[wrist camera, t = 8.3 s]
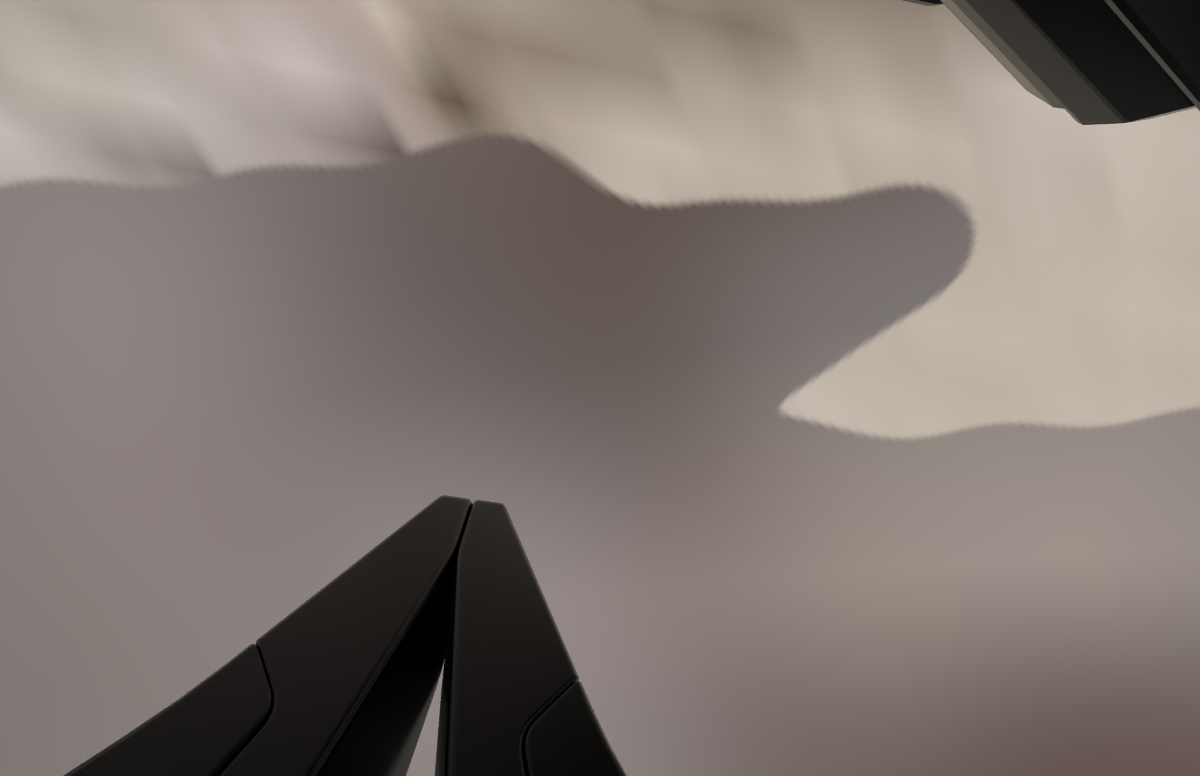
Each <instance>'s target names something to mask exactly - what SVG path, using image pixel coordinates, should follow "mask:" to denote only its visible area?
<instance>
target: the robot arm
mask: <svg viewBox="0 0 1200 776" xmlns="http://www.w3.org/2000/svg"><path fill="white" fill-rule="evenodd" d="M904 1H908V2H913V3H918V4H922V5H927V6H932V5H940V4H944V5H945V6H946V7H947V8H948V9H949V10H950V11H951V12H952V13H953V14H954V15H955V16H956V17H957V18H958V19H959V20H960V21H961V22H962V24H963V25H964V26H965V27H966V28H967V29H968V30H969V31H970V32H971V33H972V34H973V35H974V36H975V37H976V38H977V39H978V40H979V41H980V42H981V43H982V44H983V45H984V46H985V48H986V49H987V50H988V51H989V52H990V53H991V54H992V55H993V56H994V57H995V58H996V59H997V60H998V61H999V62H1000V63H1001V64H1002V65H1003V66H1004V67H1005V68H1006V69H1007V70H1008V72H1009V73H1010V74H1011V75H1012V76H1013V77H1014V78H1015V79H1016V80H1017V81H1018V82H1019V83H1020V84H1021V85H1022V86H1023V87H1024V88H1025V89H1026V90H1027V91H1028V92H1030V93H1032V94H1033V95H1035V96H1036V97H1038V98H1040V99H1041V100H1043V101H1044V102H1046V103H1048V104H1049V105H1051V106H1052V107H1055V108H1063V109H1065V110H1066V111H1067V112H1068V113H1069V114H1070V115H1071V116H1072V117H1073V118H1074V119H1075V120H1076V121H1077V122H1078V123H1080V124H1082V125H1093V124H1117V123H1128V122H1134V121H1140V120H1146V119H1151V118H1155V117H1159V116H1164V115H1168V114H1172V113H1176V112H1180V111H1184V110H1188V109H1192V108H1196V107H1197V108H1198V109H1199V111H1200V0H904ZM444 659H445V661H444ZM443 663H444V671H443V680H442V689H441V701H440V714H439V727H438V739H437V752H436V763H435V776H627V775H626V773H625V771H624V769H623V768H622V766H621V764H620V762H619V761H618V759H617V757H616V755H615V754H614V752H613V750H612V748H611V746H610V744H609V742H608V740H607V738H606V736H605V734H604V731H603V729H602V727H601V725H600V724H599V721H598V719H597V717H596V715H595V713H594V710H593V709H592V706H591V704H590V701H589V699H588V697H587V694H586V692H585V690H584V687H583V685H582V683H581V682H579V676H578V674H577V672H576V670H575V667H574V665H573V663H572V660H571V658H570V656H569V653H568V651H567V649H566V647H565V644H564V642H563V640H562V637H561V635H560V632H559V630H558V628H557V625H556V623H555V621H554V618H553V616H552V614H551V612H550V609H549V607H548V604H547V602H546V600H545V597H544V595H543V593H542V591H541V589H540V586H539V584H538V581H537V579H536V577H535V574H534V572H533V570H532V567H531V565H530V563H529V560H528V558H527V556H526V553H525V551H524V549H523V546H522V544H521V542H520V539H519V537H518V535H517V533H516V530H515V528H514V525H513V523H512V521H511V518H510V516H509V514H508V511H507V509H506V507H505V506H504V505H503V504H502V503H496V502H489V501H481V500H477V501H475V502H474V503H473V504H472V502H471V500H469V499H466V498H460V497H452V496H440V497H439V498H437V499H436V500H435V501H434V502H432V503H431V504H430V505H428V506H427V507H426V508H425V509H423V510H422V511H421V512H419V513H418V514H417V515H416V516H414V517H413V518H412V519H410V520H409V521H408V522H407V523H405V524H404V525H403V526H402V527H400V528H399V529H398V530H396V531H395V532H394V533H393V534H391V535H390V536H389V537H388V538H387V539H385V540H384V541H383V542H381V543H380V544H379V545H377V546H376V547H375V548H374V549H372V550H371V551H370V552H368V553H367V554H366V555H365V556H363V557H362V558H361V559H360V560H358V561H357V562H356V563H354V564H353V565H352V566H351V567H349V568H348V569H347V570H346V571H344V572H343V573H342V574H340V575H339V576H338V577H337V578H335V579H334V580H333V581H331V582H330V583H329V584H328V585H326V586H325V587H324V588H322V589H321V590H320V591H319V592H317V593H316V594H315V595H314V596H312V597H311V598H310V599H308V600H307V601H306V602H305V603H303V604H302V605H301V606H300V607H298V608H297V609H296V610H294V611H293V612H292V613H291V614H289V615H288V616H287V617H286V618H284V619H283V620H282V621H280V622H279V623H278V624H277V625H275V626H274V627H273V628H271V629H270V630H269V631H268V632H266V633H265V634H264V635H263V636H261V637H260V638H259V639H258V640H257V641H256V645H255V644H251V645H250V646H248V647H247V648H246V649H244V650H243V651H242V652H240V653H239V654H238V655H237V656H235V657H234V658H233V659H232V660H230V661H229V662H228V663H226V664H225V665H224V666H222V667H221V668H220V669H219V670H218V671H216V672H214V673H213V674H212V675H210V676H209V677H208V678H206V679H205V680H204V681H203V682H201V683H200V684H198V685H197V686H196V687H194V688H193V689H192V690H191V691H189V692H188V693H186V694H185V695H184V696H182V697H181V698H179V699H178V700H177V701H175V702H174V703H172V704H171V705H169V706H168V707H167V708H165V709H163V710H162V711H160V712H159V713H157V714H156V715H154V716H153V717H152V718H150V719H149V720H147V721H146V722H144V723H143V724H141V725H140V726H138V727H137V728H135V729H134V730H132V731H131V732H129V733H128V734H127V735H125V736H124V737H122V738H120V739H119V740H117V741H116V742H115V743H113V744H111V745H110V746H108V747H107V748H105V749H104V750H102V751H101V752H99V753H97V754H96V755H94V756H93V757H91V758H90V759H88V760H87V761H85V762H84V763H82V764H80V765H79V766H77V767H76V768H74V769H73V770H71V771H70V772H68V773H67V774H65V775H64V776H406V774H407V771H408V768H409V765H410V762H411V759H412V757H413V754H414V751H415V748H416V745H417V742H418V739H419V736H420V733H421V731H422V728H423V725H424V722H425V719H426V716H427V713H428V710H429V707H430V704H431V702H432V699H433V696H434V693H435V690H436V687H437V684H438V680H439V677H440V674H441V671H442V667H443Z"/></svg>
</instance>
